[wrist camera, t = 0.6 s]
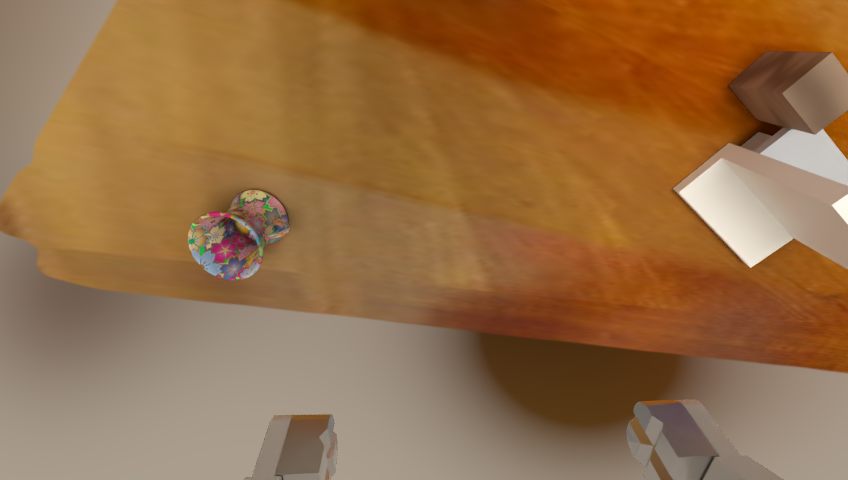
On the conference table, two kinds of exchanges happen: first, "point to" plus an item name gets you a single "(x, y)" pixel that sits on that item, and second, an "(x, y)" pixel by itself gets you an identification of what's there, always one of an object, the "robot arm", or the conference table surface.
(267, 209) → the multicoloured flared hourglass piece
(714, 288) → the conference table surface
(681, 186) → the board
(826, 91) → the cabinet
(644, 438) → the robot arm
